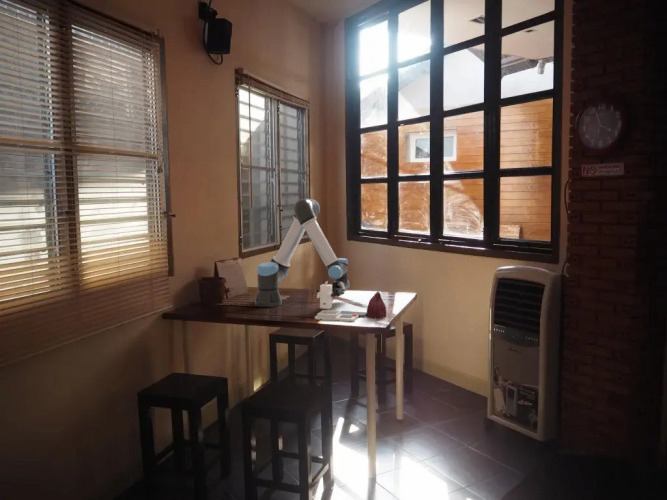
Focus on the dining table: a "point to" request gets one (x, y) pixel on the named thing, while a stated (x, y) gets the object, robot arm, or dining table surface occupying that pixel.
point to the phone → (361, 314)
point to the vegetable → (376, 307)
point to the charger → (325, 295)
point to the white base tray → (336, 316)
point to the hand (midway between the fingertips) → (323, 296)
